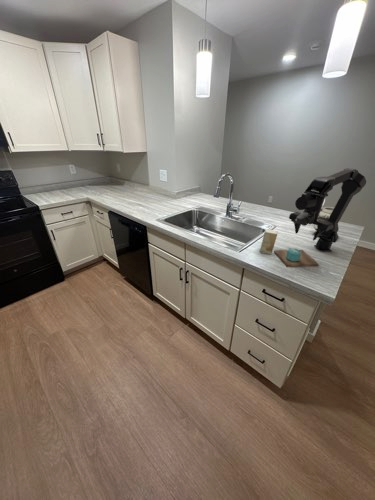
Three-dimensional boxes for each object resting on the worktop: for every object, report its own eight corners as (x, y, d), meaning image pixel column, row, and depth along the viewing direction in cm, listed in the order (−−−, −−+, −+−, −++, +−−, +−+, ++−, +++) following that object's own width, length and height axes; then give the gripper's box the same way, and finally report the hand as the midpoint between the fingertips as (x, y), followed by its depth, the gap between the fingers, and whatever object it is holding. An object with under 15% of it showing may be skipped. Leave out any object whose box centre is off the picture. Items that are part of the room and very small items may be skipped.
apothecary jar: (322, 231, 135) (332, 205, 126) (337, 239, 125) (349, 211, 116) (306, 232, 133) (315, 206, 124) (320, 240, 123) (330, 212, 114)
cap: (283, 256, 102) (285, 248, 99) (292, 254, 104) (294, 246, 101) (292, 262, 97) (295, 254, 95) (301, 259, 99) (303, 252, 97)
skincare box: (259, 252, 108) (264, 231, 102) (260, 248, 112) (264, 228, 106) (272, 254, 107) (277, 233, 101) (272, 250, 110) (277, 230, 104)
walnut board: (301, 251, 110) (302, 249, 109) (318, 265, 98) (318, 263, 97) (273, 252, 109) (274, 250, 108) (286, 266, 97) (287, 264, 96)
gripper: (285, 204, 96) (278, 233, 103) (325, 215, 82) (313, 248, 89) (300, 200, 100) (292, 228, 108) (339, 211, 86) (327, 242, 94)
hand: (304, 236), depth 100 cm, fingers open, 9 cm apart
